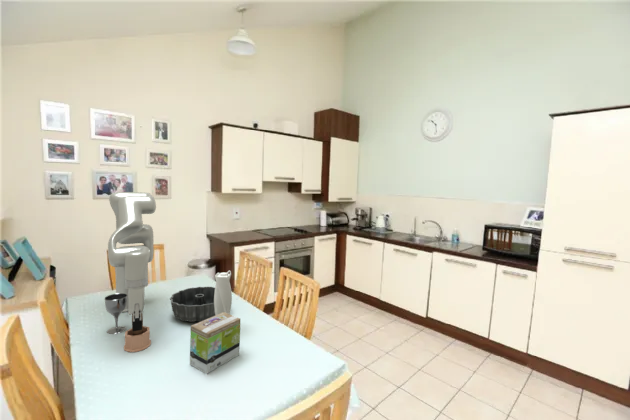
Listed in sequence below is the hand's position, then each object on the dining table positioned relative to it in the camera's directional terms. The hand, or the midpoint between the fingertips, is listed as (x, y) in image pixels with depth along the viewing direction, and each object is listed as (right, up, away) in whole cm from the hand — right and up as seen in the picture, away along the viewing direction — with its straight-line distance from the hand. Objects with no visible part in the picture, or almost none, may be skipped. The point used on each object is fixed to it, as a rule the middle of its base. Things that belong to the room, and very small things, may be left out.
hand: (137, 327), depth 115 cm
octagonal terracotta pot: (0, -7, +1) cm, 8 cm away
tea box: (+33, -10, -6) cm, 35 cm away
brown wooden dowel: (0, -5, 0) cm, 5 cm away
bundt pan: (+13, -6, +30) cm, 33 cm away
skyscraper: (+29, -8, +13) cm, 33 cm away
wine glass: (-16, -6, +12) cm, 21 cm away
